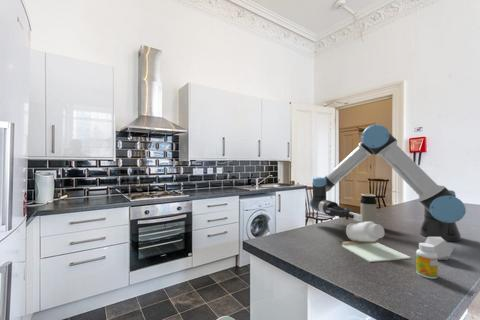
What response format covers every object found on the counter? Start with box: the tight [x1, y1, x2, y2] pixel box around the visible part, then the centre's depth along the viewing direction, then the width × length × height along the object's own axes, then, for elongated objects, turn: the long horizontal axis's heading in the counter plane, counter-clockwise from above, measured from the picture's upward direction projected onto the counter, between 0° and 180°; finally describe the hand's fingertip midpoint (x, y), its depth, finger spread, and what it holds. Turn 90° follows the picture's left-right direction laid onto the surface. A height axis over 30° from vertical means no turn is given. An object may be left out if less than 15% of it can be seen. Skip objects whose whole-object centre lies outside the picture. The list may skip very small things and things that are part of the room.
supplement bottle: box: [415, 242, 439, 280], centre depth 74 cm, size 5×5×10 cm
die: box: [424, 237, 455, 261], centre depth 87 cm, size 8×9×10 cm
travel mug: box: [360, 193, 378, 224], centre depth 131 cm, size 8×8×18 cm
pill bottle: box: [345, 221, 385, 241], centre depth 98 cm, size 8×8×15 cm
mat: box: [341, 242, 412, 263], centre depth 92 cm, size 16×18×1 cm
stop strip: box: [341, 240, 377, 246], centre depth 101 cm, size 1×16×2 cm, turn 102°
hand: (360, 218), depth 99 cm, fingers closed
